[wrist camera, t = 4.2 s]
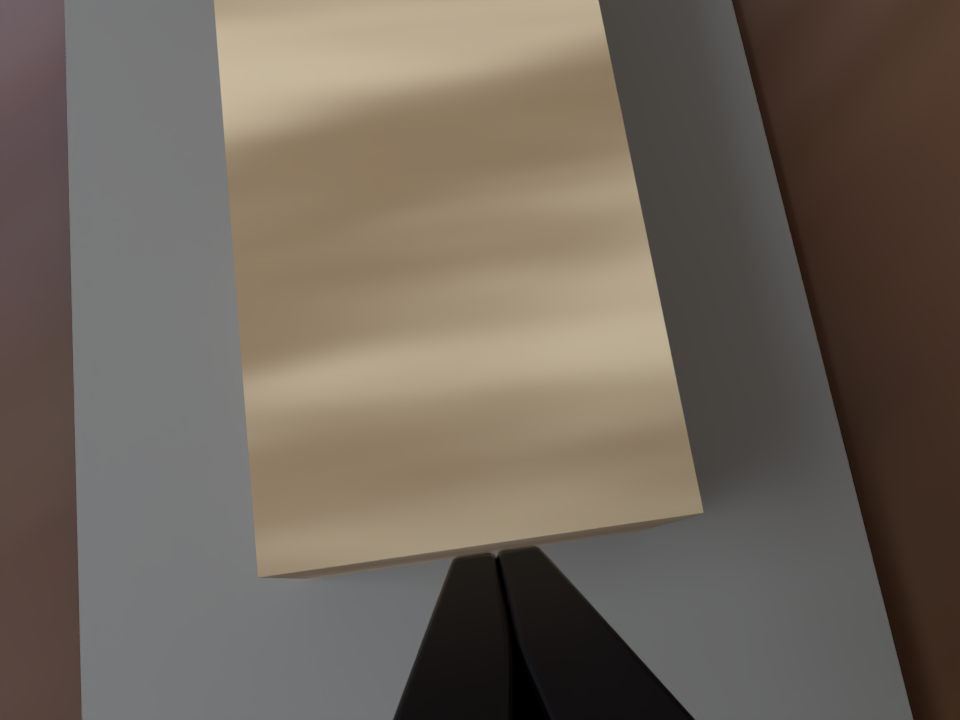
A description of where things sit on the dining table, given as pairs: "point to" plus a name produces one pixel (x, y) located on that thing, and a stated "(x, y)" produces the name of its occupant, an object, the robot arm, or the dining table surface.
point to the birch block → (441, 284)
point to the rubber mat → (415, 588)
